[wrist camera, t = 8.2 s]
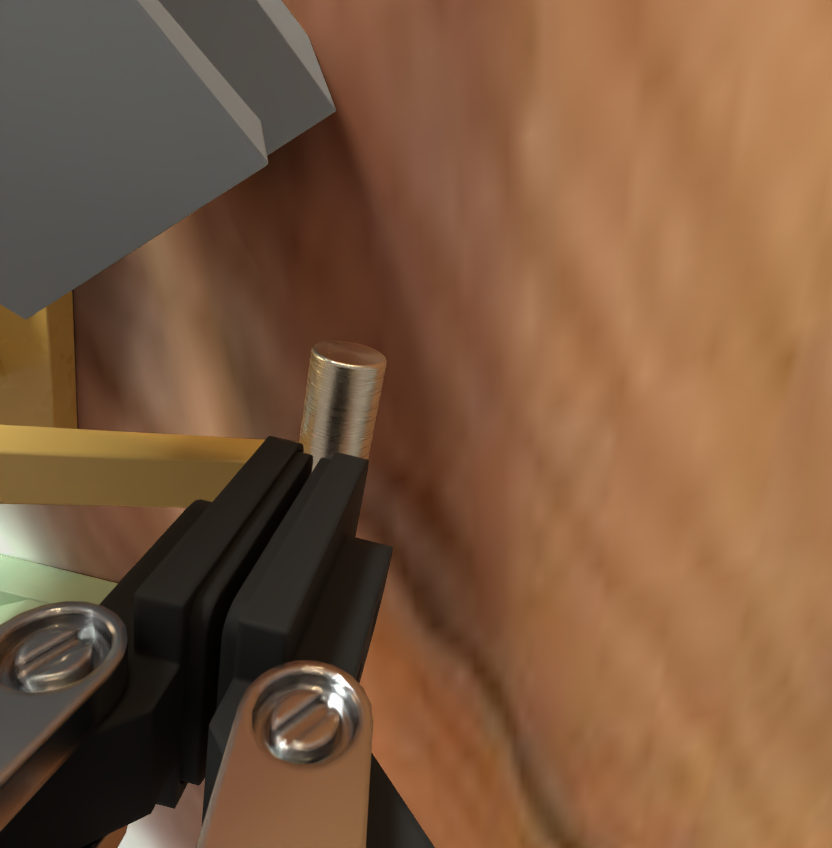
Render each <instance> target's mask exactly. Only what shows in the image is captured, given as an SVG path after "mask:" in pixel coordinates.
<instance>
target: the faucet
mask: <svg viewBox="0 0 832 848" xmlns="http://www.w3.org/2000/svg"><path fill="white" fill-rule="evenodd" d="M335 111H336V108H335V106H334V103H333V101H332V98H331V95H330V93H329V90H328V87H327V85H326V82H325V79H324V77H323V74H322V71H321V69H320V66H319V63H318V61H317V58H316V55H315V53H314V50H313V47H312V45H311V42H310V40H309V37H308V35H307V34H306V32H305V31H304V30H303V28H302V27H301V26H300V24H299V23H298V22H297V20H296V19H295V18H294V16H293V15H292V14H291V13H290V11H289V10H288V9H287V7H286V6H285V5H284V3H283V2H282V1H281V0H0V304H1V305H2V306H4V307H6V308H7V309H9V310H10V311H12V312H14V313H15V314H17V315H18V316H20V317H22V318H23V319H28V318H29V317H31V316H33V315H34V314H36V313H37V312H39V311H40V310H42V309H44V308H45V307H47V306H48V305H50V304H51V303H53V302H54V301H56V300H58V299H59V298H61V297H62V296H64V295H65V294H67V293H68V292H70V291H72V290H73V289H75V288H76V287H78V286H79V285H81V284H83V283H84V282H86V281H87V280H89V279H90V278H92V277H93V276H95V275H97V274H98V273H100V272H101V271H103V270H104V269H106V268H107V267H109V266H111V265H112V264H114V263H115V262H117V261H118V260H120V259H122V258H123V257H125V256H126V255H128V254H129V253H131V252H132V251H134V250H136V249H137V248H139V247H140V246H142V245H143V244H145V243H146V242H148V241H150V240H151V239H153V238H154V237H156V236H157V235H159V234H161V233H162V232H164V231H165V230H167V229H168V228H170V227H171V226H173V225H175V224H176V223H178V222H179V221H181V220H182V219H184V218H185V217H187V216H189V215H190V214H192V213H193V212H195V211H196V210H198V209H199V208H201V207H203V206H204V205H206V204H207V203H209V202H210V201H212V200H214V199H215V198H217V197H218V196H220V195H221V194H223V193H224V192H226V191H228V190H229V189H231V188H232V187H234V186H235V185H237V184H238V183H240V182H242V181H243V180H245V179H246V178H248V177H249V176H251V175H253V174H254V173H256V172H257V171H259V170H260V169H262V168H263V167H265V166H267V164H268V158H267V156H268V155H269V154H271V153H272V152H274V151H275V150H277V149H278V148H280V147H281V146H283V145H285V144H286V143H288V142H289V141H291V140H292V139H294V138H295V137H297V136H298V135H300V134H302V133H303V132H305V131H306V130H308V129H309V128H311V127H312V126H314V125H315V124H317V123H319V122H320V121H322V120H323V119H325V118H326V117H328V116H329V115H331V114H332V113H334V112H335Z"/></svg>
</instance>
